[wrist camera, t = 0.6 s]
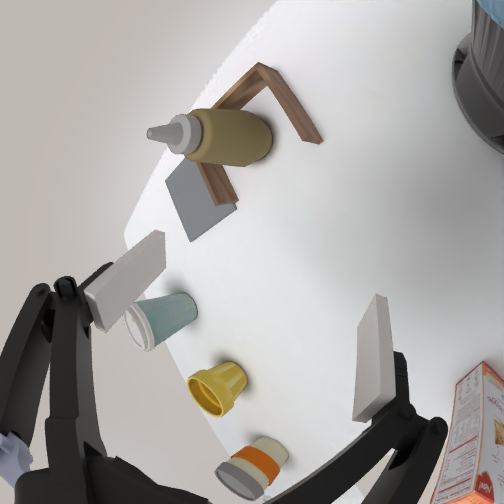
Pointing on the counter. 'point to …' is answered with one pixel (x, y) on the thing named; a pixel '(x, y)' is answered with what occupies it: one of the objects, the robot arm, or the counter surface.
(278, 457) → the reusable coffee cup
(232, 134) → the squeeze bottle
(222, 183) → the walnut nook
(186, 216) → the slate mat
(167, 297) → the disposable coffee cup
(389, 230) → the counter surface
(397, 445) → the robot arm
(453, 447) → the cracker box
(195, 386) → the plant pot
